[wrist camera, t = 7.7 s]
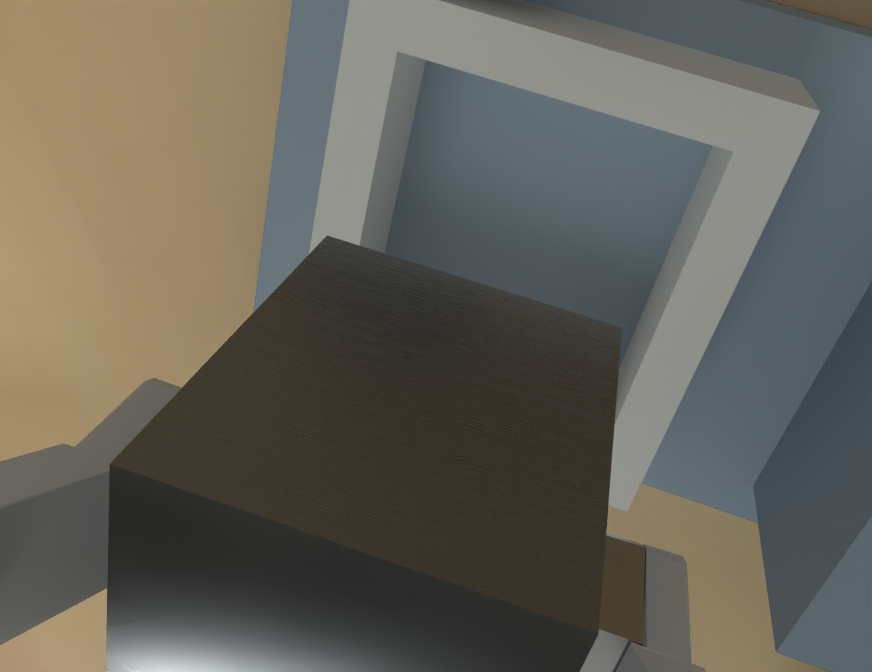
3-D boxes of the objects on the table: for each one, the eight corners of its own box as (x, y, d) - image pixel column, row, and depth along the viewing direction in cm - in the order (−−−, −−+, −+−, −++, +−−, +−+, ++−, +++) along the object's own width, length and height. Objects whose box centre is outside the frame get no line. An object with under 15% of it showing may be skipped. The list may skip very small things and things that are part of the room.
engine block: (621, 328, 10) (597, 634, 6) (516, 591, 13) (447, 936, 9) (327, 234, 11) (109, 463, 6) (281, 509, 13) (103, 804, 9)
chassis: (1466, 116, 14) (1968, 263, 9) (1014, 613, 21) (1135, 869, 16) (344, -188, 16) (177, -224, 11) (267, 357, 23) (142, 504, 18)
